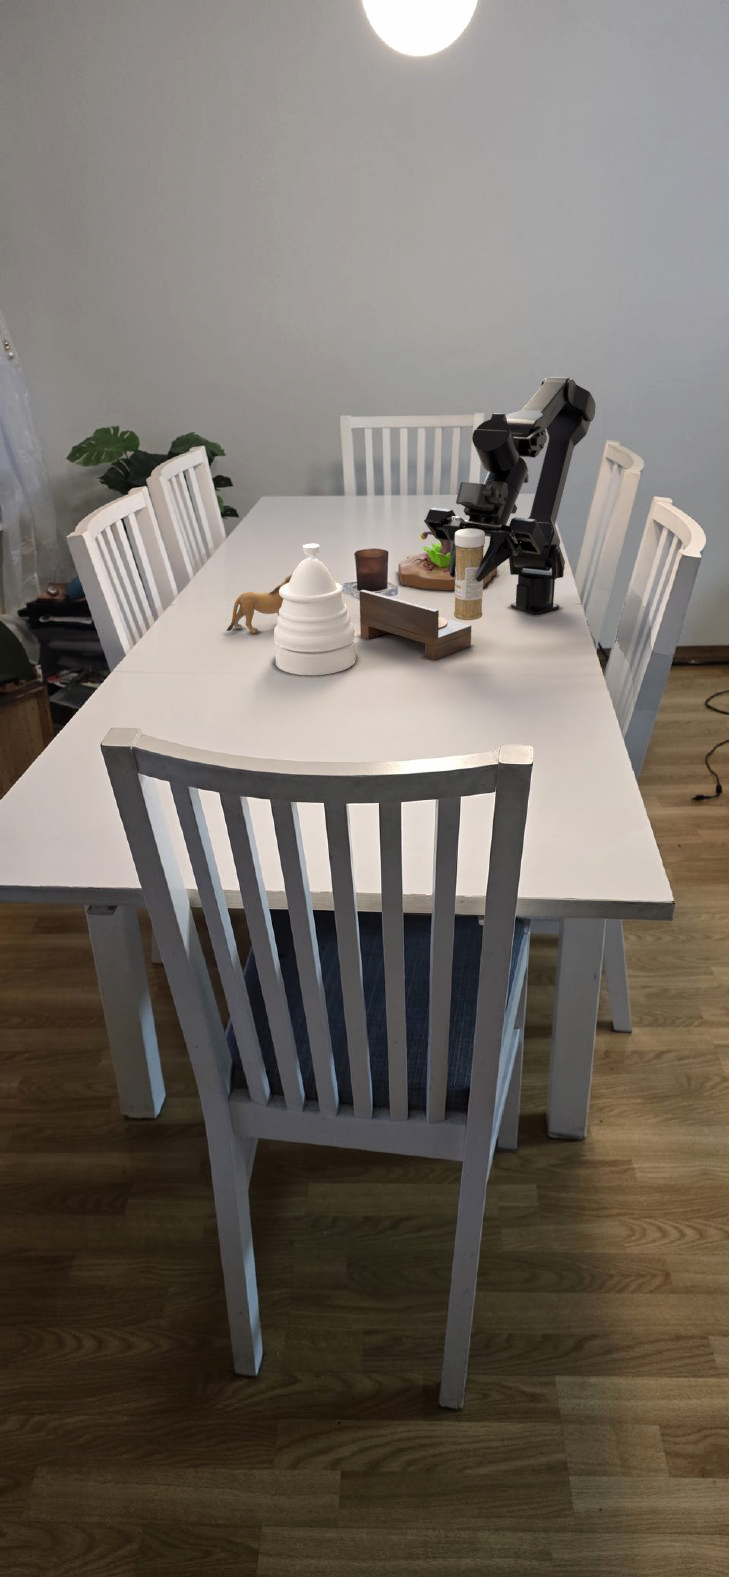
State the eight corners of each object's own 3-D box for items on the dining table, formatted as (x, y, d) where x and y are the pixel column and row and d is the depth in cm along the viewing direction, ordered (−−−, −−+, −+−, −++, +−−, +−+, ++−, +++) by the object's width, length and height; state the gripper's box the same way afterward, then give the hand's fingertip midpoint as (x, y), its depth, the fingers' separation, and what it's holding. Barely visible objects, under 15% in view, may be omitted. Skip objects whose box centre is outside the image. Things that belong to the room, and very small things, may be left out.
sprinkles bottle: (450, 613, 158) (451, 529, 151) (478, 611, 158) (480, 526, 152) (458, 622, 154) (459, 536, 147) (486, 620, 154) (489, 533, 148)
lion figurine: (303, 618, 178) (300, 569, 174) (312, 627, 174) (309, 577, 170) (223, 629, 174) (218, 579, 170) (230, 638, 170) (225, 587, 165)
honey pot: (280, 647, 165) (273, 539, 157) (357, 646, 165) (354, 538, 156) (271, 675, 154) (262, 561, 145) (353, 675, 153) (350, 559, 145)
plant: (390, 589, 193) (389, 531, 188) (404, 562, 210) (403, 509, 205) (493, 592, 190) (496, 533, 184) (499, 564, 207) (501, 510, 201)
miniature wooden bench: (397, 624, 174) (396, 579, 171) (471, 645, 163) (472, 598, 160) (360, 636, 169) (359, 590, 165) (434, 660, 158) (434, 611, 154)
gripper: (430, 454, 152) (392, 542, 150) (541, 464, 143) (503, 558, 140) (455, 496, 162) (420, 580, 159) (560, 508, 152) (525, 597, 150)
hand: (464, 578), depth 152 cm, fingers closed on sprinkles bottle, 4 cm apart
